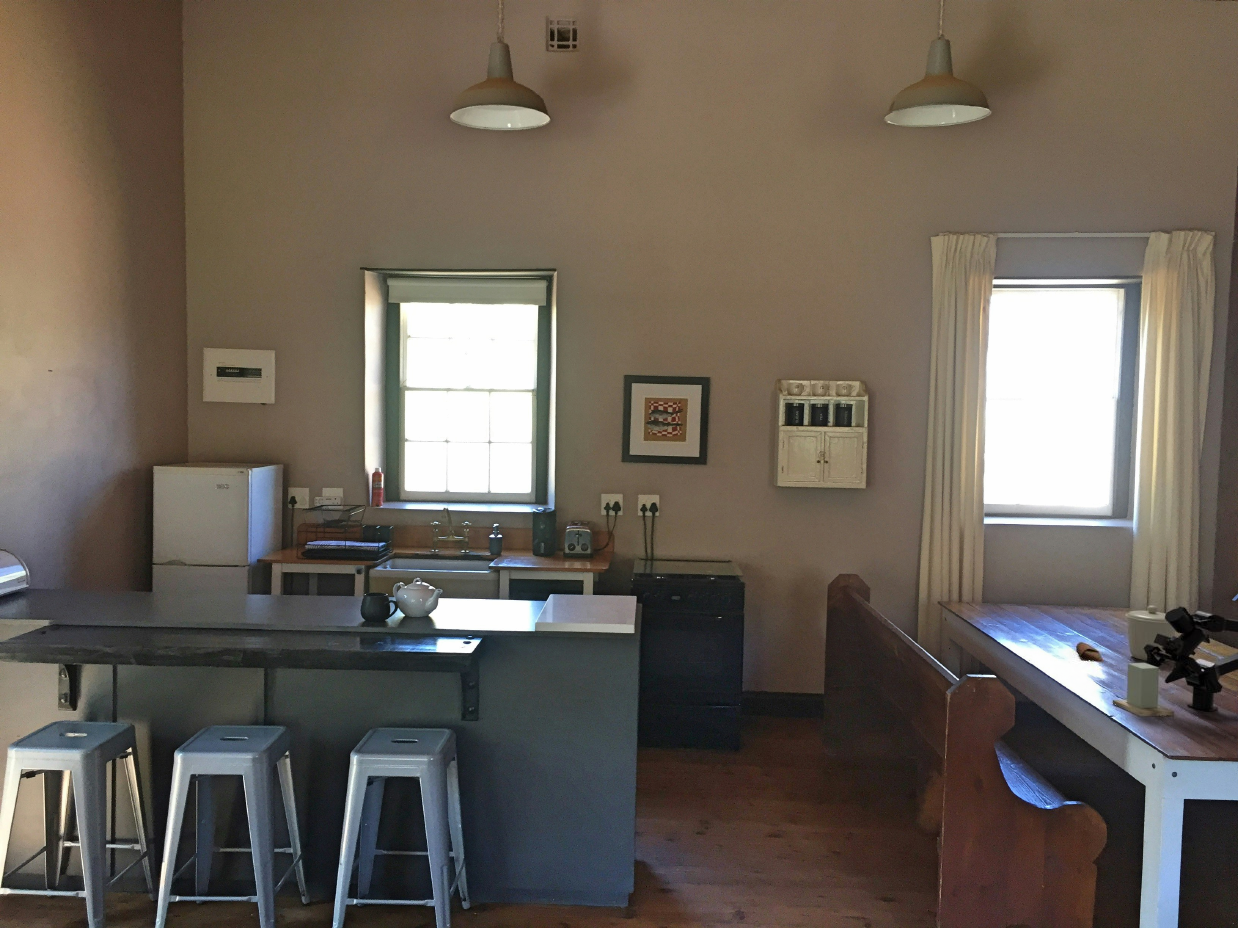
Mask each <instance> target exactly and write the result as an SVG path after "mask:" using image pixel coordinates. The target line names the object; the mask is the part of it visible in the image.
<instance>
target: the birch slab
mask: <svg viewBox="0 0 1238 928" xmlns="http://www.w3.org/2000/svg"><path fill="white" fill-rule="evenodd" d="M1112 703H1113V704H1116V705H1117V706H1116V707H1118V706H1120V707H1122V708H1124V709H1126V710H1125V711H1127V710H1128V711H1127V712H1129V711H1130V712H1129V713H1131V712H1132V713H1131V714H1133V713H1134V715H1136V716H1138V715H1139V716H1138V717H1158V716H1159V715H1160V716H1159V717H1164V716H1166V715H1171V716H1175V713H1176V711H1175V710H1172V709H1170V708H1168V707H1165V706H1163V705H1160V704H1158V707H1152V708H1139V707H1137V706H1134V705H1132V704H1130V703H1127V699H1113V700H1112ZM1113 704H1112V705H1113ZM1120 707H1119V708H1120ZM1122 708H1121V709H1122ZM1124 709H1123V710H1124ZM1162 715H1163V716H1162ZM1166 717H1167V716H1166Z"/></svg>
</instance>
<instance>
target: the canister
mask: <svg viewBox="0 0 1238 928" xmlns="http://www.w3.org/2000/svg"><path fill="white" fill-rule="evenodd" d="M1124 615H1125V618H1126V623H1127V624H1126V625H1127V635H1128V637H1127V638H1128V648H1129V652H1130V655H1131V657H1133V658H1135V659H1137V660H1140V661H1147V654H1146V653H1145V651H1144V649H1143V648H1144V647H1145V646H1146V645H1147V644H1152V645H1155V646H1158V647H1159V648H1160V649H1161V650H1162V652H1163V653H1165V651H1164V650H1163V649H1162V647H1163V646H1161V645H1159V644H1157V643H1154V640H1155V637H1156V635H1157V633H1158V634H1161V635H1164V636H1167V637H1170V638H1171V637H1173V636H1175V637H1176V631H1175V630H1174V629H1173V628H1172V626H1171V625H1170V624H1169V623H1168V622H1167V621H1166V619H1165V615H1166V613H1165V612H1158V607H1157V606H1156V605H1148V606H1147V608H1146V610H1132V611H1129V612H1127V613H1125V614H1124ZM1167 661H1168V660H1165V661H1164V662H1167ZM1164 662H1163V663H1164Z"/></svg>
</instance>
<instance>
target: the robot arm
mask: <svg viewBox="0 0 1238 928" xmlns="http://www.w3.org/2000/svg"><path fill="white" fill-rule="evenodd" d="M1165 614H1166V615H1165V619H1166V621H1167V622H1168V623H1169V624H1170V625H1171V626H1172V628H1173V629H1174V630H1175V633H1177V634H1179V636H1176V635H1175V636H1173V637H1171V638H1170V637H1167V636H1164V635H1161V634H1158V633H1157V635H1156V637H1155V640H1154V643H1157V644H1159V645H1161V646H1163V647H1162V649H1163V650H1164V651H1165V653H1163V652H1162V650H1161V649H1160V648H1159V647H1158V646H1155V645H1152V644H1147V645H1146V646H1145V647H1144V648H1143V649H1144V651H1145V653H1146V654H1147V661H1146V662H1145V663H1147V664H1149V665H1152V666H1155V667H1158V668H1159V667H1161V666H1162V663H1164V661H1165V660H1167V661H1168V662H1172V663H1174V668H1173V669H1172V670H1171V672H1169V674H1168V675H1167V676H1166V678H1165V679H1164V683H1165V684H1171V683H1173V682H1175V681H1179V680H1182V679H1184V680H1185V682H1186V686H1190V687H1192V697H1191V698H1192V700H1191V702H1192V703H1188V704H1187V705H1186V707H1189V708H1192V709H1193V708H1194V709H1196V710H1201V711H1204V712H1212V711H1216V710H1219V707H1217V706H1216V705H1215V706H1214V701H1215V694H1218V693H1222V690H1223V685H1222V684H1221V683H1220V681H1219V680H1220V678H1221V677H1222V676H1225V675H1227V674H1230V673H1233V672H1236V671H1238V652H1235V653H1232V654H1230V655H1227V656H1225V657H1221V658H1219V659H1217V660H1213V661H1208V660H1206V659H1203V658H1198V659H1195V658H1194V657H1192V656H1195V655H1196V654H1197V653H1196V652H1195V651H1196V649H1197V648H1198V647H1199V646H1200V645H1201V644H1202V643H1205V644H1211V639H1210V634H1207V633H1205V632H1204V631H1206V632H1210V633H1223V632H1234V633H1238V619H1234V618H1233V619H1232V618H1226V617H1223V616H1220V615H1218V614H1214V613H1210V612H1208V611H1203V610H1197V611H1195V613H1193V614H1191V613H1189V611H1188V609H1187V608H1186V607H1184V606H1181V605H1180V606H1178V607H1177V608H1173V609H1171V610H1169V611H1166V613H1165ZM1165 662H1166V661H1165Z"/></svg>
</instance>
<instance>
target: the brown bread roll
mask: <svg viewBox="0 0 1238 928" xmlns="http://www.w3.org/2000/svg"><path fill="white" fill-rule="evenodd" d="M1075 648H1076V651H1077V653H1078V656H1079V657H1080V659H1081V660H1082V661H1088V660H1090V661H1089V662H1098V663H1101V662H1102V663H1104V659H1103V657H1102V655H1101V653H1100V651H1099V650H1098V649H1096V648H1094V647H1093V646H1091V645H1090V644H1088V643H1086V642H1081V641H1080V642H1078V643H1076V646H1075Z"/></svg>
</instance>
